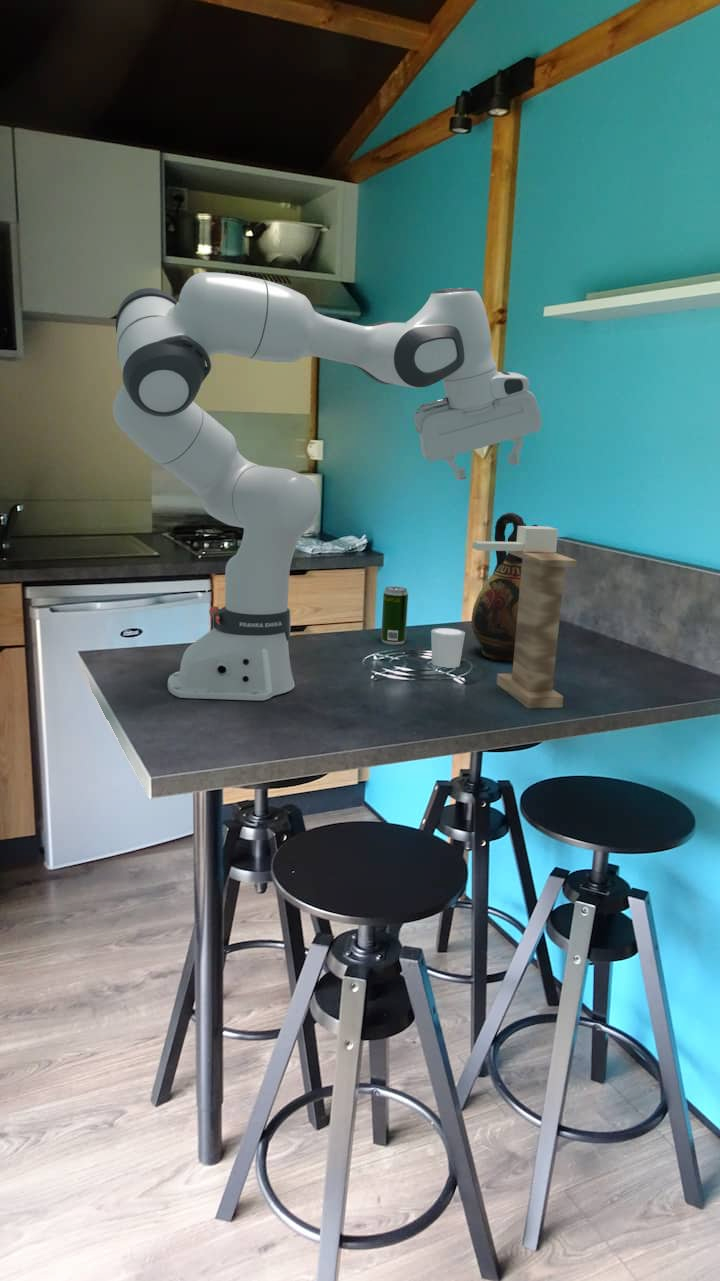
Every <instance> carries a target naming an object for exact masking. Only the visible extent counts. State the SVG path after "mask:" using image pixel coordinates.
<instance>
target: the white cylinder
mask: <svg viewBox="0 0 720 1281" xmlns="http://www.w3.org/2000/svg"><path fill="white" fill-rule="evenodd" d="M430 635H431V636H430V637H431V638H430V639H431V640H430V641H431V665H432V664H433V665H436V666H440V667H446V668H453V669H457V668H456V667H458V668H459V667H460V666H461V661H462V660H461V659H462V653H463V647H464V641H465V636H466V632H465V631H464V630H461V629H458V628H451V627H438V628H437V627H436V628H432V629H431V631H430ZM433 665H432V666H433ZM446 668H445V669H446Z"/></svg>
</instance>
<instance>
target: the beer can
mask: <svg viewBox="0 0 720 1281" xmlns="http://www.w3.org/2000/svg"><path fill="white" fill-rule="evenodd" d="M382 597H383V598H382V599H383V600H382V613H381V615H382V616H381V634H380V636H381V637H380V639H381V642H382V643H383V644H385V645H391V646H397V645H398V646H400V645H403V644H405V642H406V638H407V637H406V636H407V621H408V620H407V619H408V600H409V592H408V588H406V587H402V586H385V587H384V591H383V596H382Z"/></svg>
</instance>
